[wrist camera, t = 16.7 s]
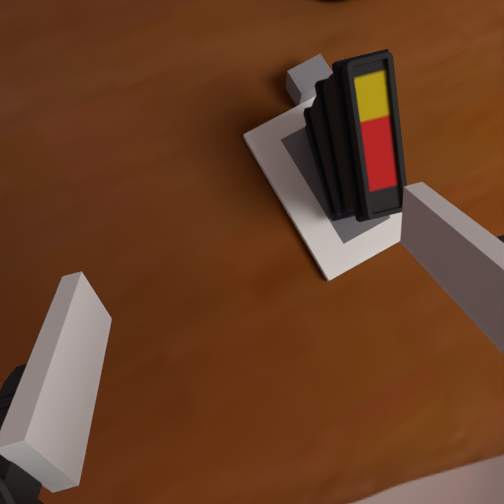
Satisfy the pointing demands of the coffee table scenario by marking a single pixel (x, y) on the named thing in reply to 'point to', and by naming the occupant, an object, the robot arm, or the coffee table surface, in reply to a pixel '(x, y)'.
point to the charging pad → (314, 182)
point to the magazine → (358, 138)
